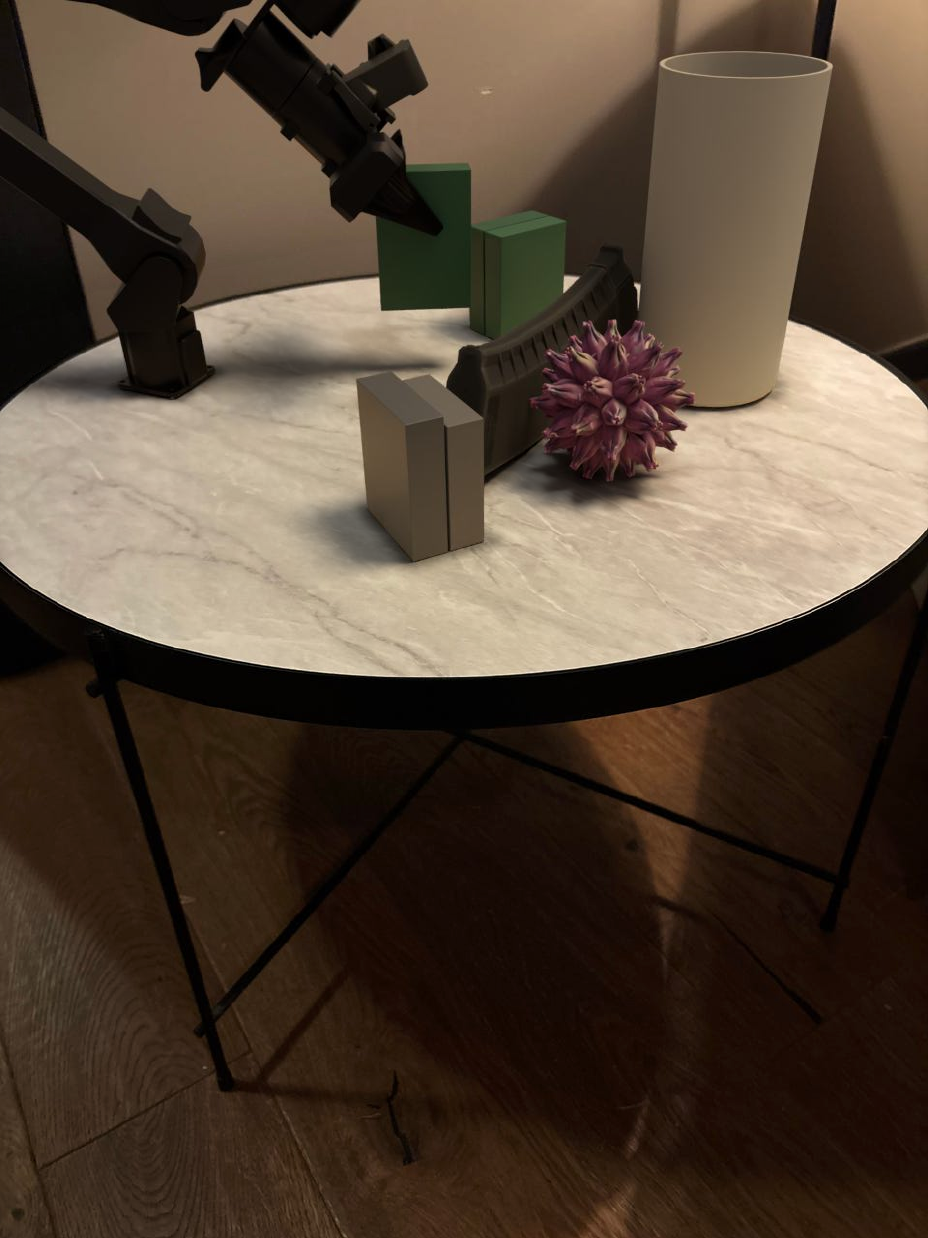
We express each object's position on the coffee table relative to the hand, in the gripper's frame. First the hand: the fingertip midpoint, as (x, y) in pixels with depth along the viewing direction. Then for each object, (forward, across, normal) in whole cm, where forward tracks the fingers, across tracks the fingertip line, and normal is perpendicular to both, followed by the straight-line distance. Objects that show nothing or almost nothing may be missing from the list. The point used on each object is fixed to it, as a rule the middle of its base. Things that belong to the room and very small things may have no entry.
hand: (438, 227), depth 87 cm
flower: (+17, -22, +1) cm, 27 cm away
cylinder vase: (+25, -6, -7) cm, 27 cm away
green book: (+4, 0, +6) cm, 7 cm away
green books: (+15, +9, +3) cm, 17 cm away
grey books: (+6, -28, +11) cm, 31 cm away
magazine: (+15, -12, +3) cm, 19 cm away
